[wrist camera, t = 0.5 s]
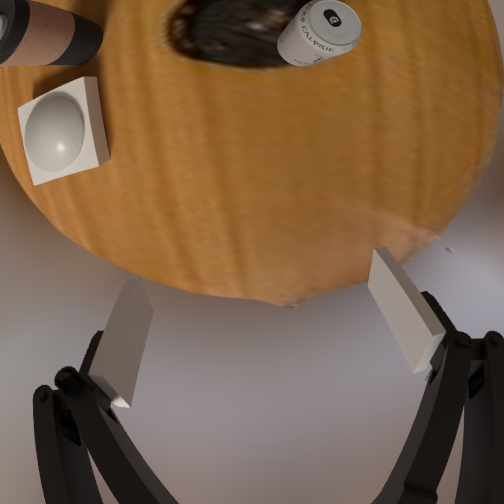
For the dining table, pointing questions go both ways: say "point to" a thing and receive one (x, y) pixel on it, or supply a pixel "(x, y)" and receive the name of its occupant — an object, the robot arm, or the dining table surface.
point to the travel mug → (45, 35)
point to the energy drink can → (319, 33)
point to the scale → (64, 131)
